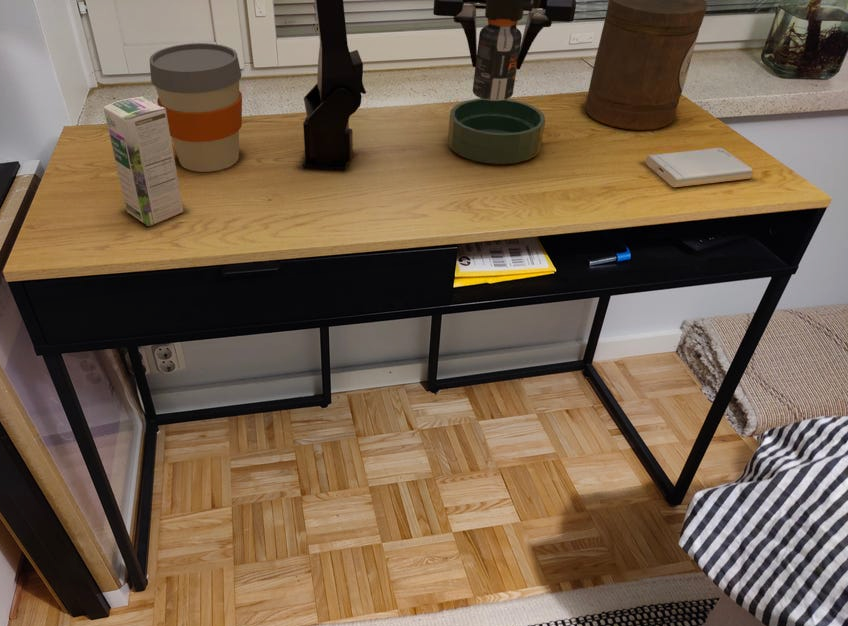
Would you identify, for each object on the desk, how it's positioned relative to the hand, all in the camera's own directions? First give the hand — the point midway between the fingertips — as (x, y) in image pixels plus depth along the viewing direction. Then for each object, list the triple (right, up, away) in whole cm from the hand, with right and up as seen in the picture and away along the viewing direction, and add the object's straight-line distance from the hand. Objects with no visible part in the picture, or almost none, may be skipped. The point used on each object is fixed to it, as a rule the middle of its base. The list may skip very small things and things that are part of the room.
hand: (495, 67), depth 102 cm
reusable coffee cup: (-43, -11, +6) cm, 45 cm away
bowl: (+1, -8, +10) cm, 13 cm away
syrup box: (-47, -22, -6) cm, 52 cm away
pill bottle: (0, -3, +3) cm, 4 cm away
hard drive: (+31, -14, +4) cm, 34 cm away
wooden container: (+27, 0, +20) cm, 34 cm away
